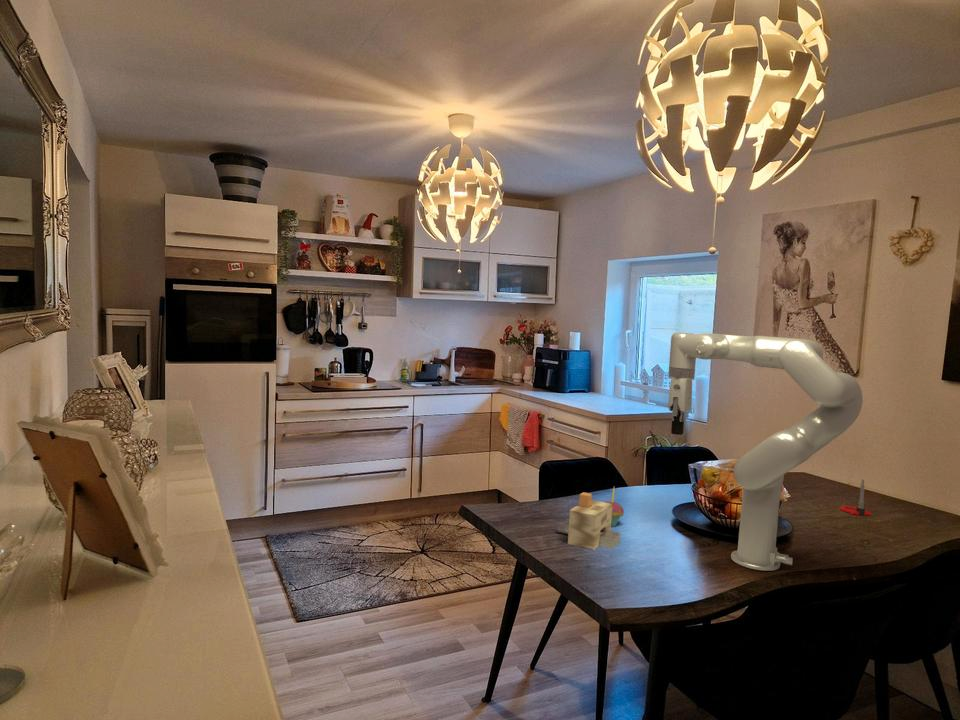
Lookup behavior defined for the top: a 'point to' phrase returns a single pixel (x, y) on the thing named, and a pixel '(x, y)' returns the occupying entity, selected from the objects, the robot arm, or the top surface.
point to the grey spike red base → (861, 503)
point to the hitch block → (589, 524)
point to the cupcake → (615, 510)
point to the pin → (606, 538)
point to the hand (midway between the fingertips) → (677, 433)
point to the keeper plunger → (585, 500)
